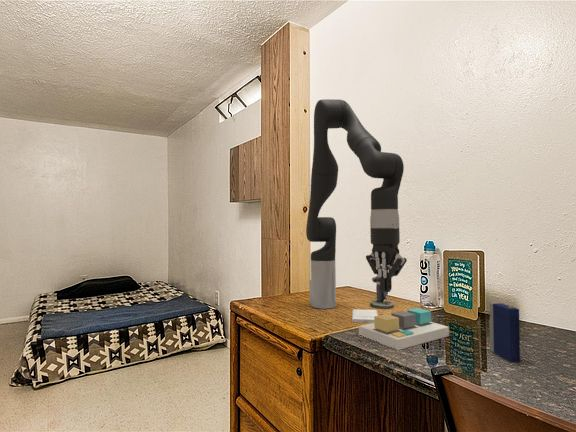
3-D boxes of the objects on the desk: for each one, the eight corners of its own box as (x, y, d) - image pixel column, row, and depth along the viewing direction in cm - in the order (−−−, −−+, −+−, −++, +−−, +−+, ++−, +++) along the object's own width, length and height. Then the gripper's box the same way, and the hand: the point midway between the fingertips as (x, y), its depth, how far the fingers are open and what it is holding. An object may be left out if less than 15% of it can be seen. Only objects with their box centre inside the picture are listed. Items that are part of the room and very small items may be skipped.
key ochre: (374, 327, 97) (374, 316, 97) (386, 325, 99) (386, 314, 99) (387, 331, 93) (386, 320, 93) (399, 329, 96) (398, 317, 96)
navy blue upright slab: (520, 362, 80) (519, 307, 80) (510, 362, 80) (509, 308, 80) (498, 350, 88) (497, 300, 88) (489, 350, 87) (488, 301, 88)
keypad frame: (358, 335, 100) (358, 324, 100) (408, 323, 111) (407, 314, 111) (398, 350, 88) (397, 337, 88) (449, 336, 99) (448, 325, 99)
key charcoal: (391, 323, 100) (391, 313, 100) (402, 321, 103) (402, 310, 103) (404, 327, 97) (404, 316, 97) (415, 325, 99) (415, 314, 99)
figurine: (371, 308, 130) (371, 275, 131) (369, 303, 139) (368, 272, 139) (395, 309, 130) (395, 275, 130) (391, 303, 138) (391, 272, 138)
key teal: (407, 320, 104) (407, 309, 104) (417, 318, 106) (417, 307, 106) (420, 324, 100) (420, 313, 100) (431, 321, 102) (430, 311, 102)
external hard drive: (376, 314, 124) (379, 324, 112) (352, 313, 126) (352, 323, 114) (376, 309, 124) (378, 319, 112) (352, 309, 126) (352, 318, 114)
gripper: (357, 226, 100) (358, 289, 100) (393, 226, 89) (395, 297, 89) (376, 226, 104) (378, 286, 104) (414, 226, 93) (415, 294, 93)
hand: (385, 291), depth 96 cm, fingers closed
